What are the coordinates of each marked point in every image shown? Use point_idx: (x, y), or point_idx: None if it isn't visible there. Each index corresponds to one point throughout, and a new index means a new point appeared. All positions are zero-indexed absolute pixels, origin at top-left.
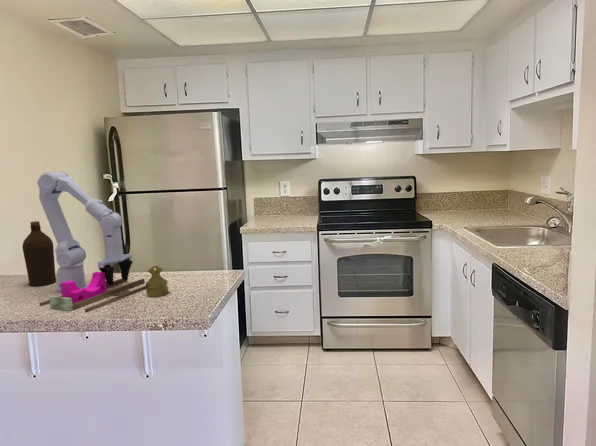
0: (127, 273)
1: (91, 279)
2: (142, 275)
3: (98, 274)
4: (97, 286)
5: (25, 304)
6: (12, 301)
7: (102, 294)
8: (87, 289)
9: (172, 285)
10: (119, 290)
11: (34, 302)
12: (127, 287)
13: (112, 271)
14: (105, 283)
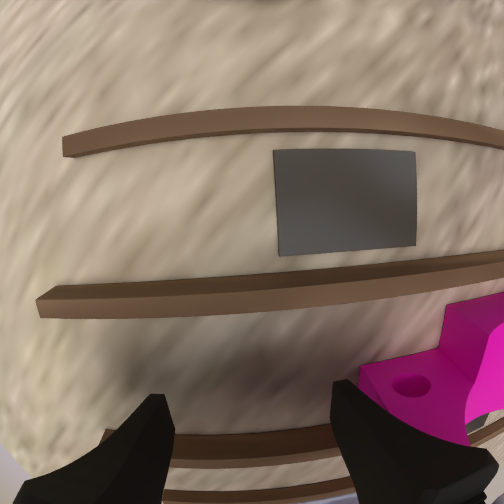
0: (136, 428)
1: None
2: (6, 418)
3: None
4: (457, 386)
5: (494, 457)
6: None
7: (495, 261)
8: (483, 392)
9: (42, 24)
10: (348, 273)
11: None
12: (248, 281)
13: (414, 455)
14: (390, 409)
